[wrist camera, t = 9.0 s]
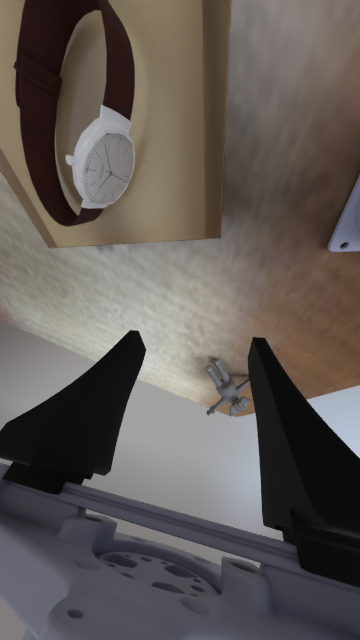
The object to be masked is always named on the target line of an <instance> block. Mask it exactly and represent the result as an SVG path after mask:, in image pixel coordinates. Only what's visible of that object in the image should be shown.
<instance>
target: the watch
mask: <svg viewBox="0 0 360 640" xmlns="http://www.w3.org/2000/svg"><path fill="white" fill-rule="evenodd" d="M95 10H98V11H101V15H102V20H103V26H104V31H105V41H106V52H107V57H106V86H105V92H104V98H103V105H101V110H100V117H99V118H97V119H95V120H94V121H93V122H92V123H91V124H90V125H89V126H88V127H87V128H86V129H85V130H84V131H83V132H82V134H81V136H80V138H79V140H78V142H77V145H76V147H75V151H74V156H70V155H66V157H65V158H66V162H67V164H68V165H71V166H72V171H73V180H74V184H75V186H76V188H77V190H78V192H79V194H80V195H81V197H82V198H83V201H82V204H81V211H80V214H79V215H77V214H76V213H75V212H74V211H73V209H72V208H71V207H70V205H69V203H68V201H67V199H66V197H65V195H64V192H63V190H62V187H61V183H60V180H59V176H58V172H57V165H56V159H55V129H56V114H57V103H58V99H59V95H60V89H61V84H62V78H61V77H60V72H61V69H62V65H63V61H64V57H65V53H66V49H67V45H68V43H69V40H70V38H71V36H72V33H73V31H74V28H75V26H76V24H77V23H78V22H79V21H80V20H81V19H82V18H83V17H84V15H86V14H88V13H91V12H93V11H95ZM13 67H14V68H15V70H16V79H15V97H16V104H17V106H18V107H19V108H20V131H21V138H22V145H23V150H24V156H25V161H26V165H27V168H28V171H29V175H30V178H31V181H32V184H33V186H34V188H35V191H36V193H37V195H38V198H39V200H40V201H41V203H42V205H43V206H44V208H45V210H46V211H47V212H48V214H49V215H50V216H51V217H52V219H53V220H54V221H56V222H57V223H58V224H60V225H62V226H65V227H69V226H75V225H79V224H84V223H87V222H91V221H94V220H95V219H96V218H98V217H99V216H100V214H101V213H102V211H103V209H104V208H105V207H107V205H109V204H112V203H114V202H115V201H116V200H117V199H118V198H119V197H120V196H121V195H122V193H123V192H124V191H125V189H126V188H127V186H128V184H129V182H130V179H131V177H132V174H133V171H134V165H135V151H134V143H133V140H132V139H131V138H130V136H129V130H130V128H131V126H132V124H133V123H132V122H131V121H130V119H131V114H132V109H133V102H134V94H135V65H134V58H133V52H132V47H131V43H130V40H129V37H128V35H127V32H126V30H125V27H124V25H123V23H122V22H121V20H120V18H119V17H118V15H117V14H116V12H115V11H114V9H113V8H112V6H111V4H110V3H109V1H108V0H25V3H24V7H23V11H22V18H21V25H20V32H19V38H18V45H17V56H16V62H15V63H14V66H13Z"/></svg>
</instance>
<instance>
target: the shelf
mask: <svg viewBox="0 0 360 640" xmlns="http://www.w3.org/2000/svg"><path fill="white" fill-rule="evenodd" d="M108 1H109V3H110V4H111V6H112V8H113V9H114V11H115V12H116V14H117V15H118V17H119V18H120V20H121V22H122V23H123V25H124V27H125V30H126V32H127V35H128V37H129V40H130V43H131V47H132V52H133V58H134V65H135V94H134V102H133V109H132V114H131V119H130V121H131V122H132V123H133V124H132V126H131V128H130V130H129V136H130V138H131V139H132V140H133V143H134V151H135V165H134V171H133V174H132V177H131V179H130V182H129V184H128V186H127V188H126V189H125V191H124V192H123V193H122V195H121V196H120V197H119V198H118V199H117V200H116V201H115V202H114V203H112V204H109V205H107V207H105V208H104V209H103V211H102V213H101V214H100V216H99V217H98V218H96V219H95V220H94V221H91V222H87V223H84V224H79V225H75V226H69V227H65V226H62V225H60V224H58V223H57V222H56V221H54V220H53V219H52V217H51V216H50V215H49V214H48V212H47V211H46V210H45V208H44V206H43V205H42V203H41V201H40V200H39V198H38V195H37V193H36V191H35V188H34V186H33V184H32V181H31V178H30V175H29V171H28V168H27V165H26V161H25V156H24V150H23V145H22V138H21V131H20V108H19V107H18V106H17V104H16V97H15V79H16V70H15V68H14V67H13V66H14V63H15V62H16V56H17V45H18V38H19V32H20V25H21V18H22V11H23V7H24V3H25V0H0V170H1V172H2V174H3V175H4V177H5V178H6V180H7V182H8V183H9V185H10V186H11V188H12V190H13V191H14V193H15V195H16V196H17V198H18V199H19V201H20V203H21V204H22V206H23V207H24V209H25V211H26V212H27V214H28V216H29V217H30V219H31V220H32V222H33V224H34V225H35V227H36V228H37V230H38V232H39V233H40V235H41V237H42V238H43V240H44V241H45V243H46V245H47V246H48V248H61V247H78V246H96V245H113V244H130V243H147V242H164V241H182V240H199V239H216V238H221V223H222V201H223V179H224V156H225V134H226V111H227V89H228V66H229V44H230V21H231V0H108ZM106 57H107V52H106V41H105V31H104V26H103V20H102V15H101V11H98V10H95V11H93V12H91V13H88V14H86V15H84V17H83V18H82V19H81V20H80V21H79V22H78V23H77V24H76V26H75V28H74V31H73V33H72V36H71V38H70V40H69V43H68V45H67V49H66V53H65V57H64V61H63V65H62V69H61V72H60V77H61V78H62V84H61V89H60V95H59V99H58V103H57V114H56V129H55V159H56V165H57V172H58V176H59V180H60V183H61V187H62V190H63V192H64V195H65V197H66V199H67V201H68V203H69V205H70V207H71V208H72V209H73V211H74V212H75V213H76V214H77V215H79V214H80V211H81V204H82V201H83V198H82V197H81V195H80V194H79V192H78V190H77V188H76V186H75V184H74V180H73V171H72V166H71V165H68V164H67V162H66V158H65V157H66V155H70V156H74V151H75V147H76V145H77V142H78V140H79V138H80V136H81V134H82V132H83V131H84V130H85V129H86V128H87V127H88V126H89V125H90V124H91V123H92V122H93V121H94V120H95V119H97V118H99V117H100V110H101V105H103V98H104V92H105V86H106Z"/></svg>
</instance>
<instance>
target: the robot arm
mask: <svg viewBox="0 0 360 640" xmlns="http://www.w3.org/2000/svg"><path fill="white" fill-rule="evenodd" d="M345 242H346V244H345V245H344V246H343V247H340V246H341V244H343V243H345ZM327 248H328V250H330V251H331V252H348V251H360V175H359V177H358V179H357V181H356V183H355V186H354V188H353V190H352V192H351V194H350V197H349V199H348V201H347V203H346V205H345V208H344V210H343V212H342V214H341V216H340V219H339V221H338V223H337V225H336V228H335V230H334V232H333V234H332V236H331V239H330V241H329V243H328V246H327ZM145 352H146V348H145V346H144V343H143V341H142V338H141V336H140V333H139V331H133V330H130V331H129V332H128V333H127V334H126V335H125V336H124V337H123V338H122V339H121V340H120V341H119V342H118V343H117V344H116V345H115V346H114V347H113V348H112V349H111V350H110V351H109V352H108V353H107V354H106V355H105V356H104V357H102V358H101V359H100V360H99V361H98V362H97V363H96V364H95V365H94V366H92V367H91V368H90V369H89V370H88V371H87V372H85V373H84V374H83V375H82V376H80V377H79V378H78V379H76V380H75V381H74V382H72V383H71V384H70V385H68V386H67V387H65V388H64V389H63V390H61V391H60V392H58V393H57V394H55V395H54V396H52V397H51V398H49V399H48V400H46V401H44V402H43V403H41V404H40V405H38V406H36V407H34V408H33V409H31V410H29V411H27V412H26V413H24V414H22V415H20V416H18V417H17V418H15V419H13V420H11V421H9V422H7V423H6V424H5V426H4V427H3V428H2V430H1V431H0V458H2V459H6V460H10V461H13V463H12V464H11V465H6V464H2V463H0V598H1V599H2V600H3V602H4V603H5V604H6V605H7V606H8V607H9V608H10V609H11V610H12V611H13V613H15V615H16V616H17V617H18V618H19V619H20V620H21V621H22V622H23V623H24V625H25V626H26V627H27V629H26V632H25V634H24V637H23V639H22V640H360V458H359V457H358V456H357V455H356V454H355V453H353V451H352V450H350V448H349V447H348V446H347V445H346V444H345V443H344V442H343V441H342V440H341V439H340V438H339V437H338V436H337V434H336V433H335V432H333V430H332V429H331V428H330V427H329V426H328V425H327V424H326V423H325V422H324V421H323V419H322V418H321V417H320V416H319V415H318V414H317V412H316V411H315V410H314V409H313V408H312V406H311V405H310V404H309V403H308V402H307V400H306V399H305V398H304V397H303V395H302V394H301V393H300V391H299V390H298V389H297V387H296V386H295V385H294V383H293V382H292V381H291V379H290V378H289V376H288V375H287V373H286V372H285V370H284V369H283V367H282V366H281V364H280V363H279V361H278V360H277V358H276V356H275V355H274V353H273V351H272V350H271V348H270V346H269V344H268V342H267V340H266V339H265V338H257V337H253V339H252V343H251V347H250V351H249V355H248V371H249V379H250V384H251V390H252V396H253V401H254V407H255V412H256V420H257V429H258V443H259V457H260V474H261V495H262V515H263V523H264V526H267V527H270V528H273V529H276V530H280V531H282V533H283V539H284V541H280V540H276V539H273V538H269V537H266V536H262V535H258V534H255V533H251V532H248V531H244V530H241V529H237V528H233V527H230V526H226V525H222V524H219V523H215V522H212V521H208V520H204V519H201V518H198V517H194V516H190V515H187V514H183V513H179V512H176V511H173V510H169V509H165V508H162V507H158V506H155V505H151V504H147V503H144V502H140V501H137V500H133V499H129V498H126V497H122V496H118V495H115V494H111V493H108V492H104V491H101V490H97V489H94V488H90V487H86V486H83V485H82V483H83V480H84V478H85V479H89V480H90V479H91V478H92V476H93V473H96V474H99V475H103V476H105V475H106V474H108V473H109V472H110V470H111V466H112V461H113V456H114V451H115V447H116V443H117V438H118V434H119V430H120V426H121V422H122V419H123V415H124V412H125V409H126V405H127V402H128V399H129V396H130V393H131V391H132V388H133V386H134V384H135V381H136V379H137V376H138V374H139V371H140V369H141V366H142V363H143V360H144V356H145ZM86 509H89V510H92V511H95V512H98V513H102V514H105V515H108V516H111V517H114V518H118V519H121V520H124V521H128V522H131V523H134V524H137V525H140V526H144V527H147V528H150V529H153V530H157V531H160V532H163V533H166V534H170V535H173V536H176V537H179V538H182V539H185V540H189V541H192V542H196V543H198V544H202V545H205V546H208V547H211V548H215V549H218V550H221V551H224V552H228V553H231V554H234V555H237V556H240V557H244V558H247V559H250V560H253V561H256V562H260V563H261V565H260V567H259V568H258V567H256V566H255V565H253V564H252V563H249V562H247V561H243V560H239V559H234V558H229V557H222V566H221V565H218V564H216V563H213V562H210V561H208V560H206V559H203V558H201V557H198V556H196V555H193V554H191V553H188V552H185V551H183V550H180V549H177V548H174V547H171V546H168V545H164V544H161V543H157V542H153V541H150V540H146V539H142V538H138V537H134V536H130V535H126V534H122V533H118V532H115V530H116V527H117V522H115V521H114V520H112V519H110V518H108V517H105V516H101V515H92V514H86Z"/></svg>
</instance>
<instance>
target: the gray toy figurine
mask: <svg viewBox="0 0 360 640" xmlns="http://www.w3.org/2000/svg"><path fill="white" fill-rule="evenodd" d="M213 363H214V364H215V366H216V367H217V369H218V371H219V373H220V374H221V376H222V378H223V379H220V378H219V377H218V376H217V374H216V373H215V371H214V370H213V368H212V366H211V365H208V366H206V368H205V369H206V370H207V372H208V373H209V375H210V376H211V377H212V379H213V381H214V383H215V385H216V389H217V391H218V393H219V394H220V395H222V398H221V399H220V400H219V401H218V402H217V403H216V404H215V405H214V406H212V407H211V408H210V409H209V410H208V411H207V415H210V414H211V413H214V411H215V409H216V408H217V407H219V406H222V405H224V404H226V403H228V402H231V403H232V405H231V407H230V408H229V409H230V416H234V415H235V414H236V413H237V412H238V411H239V412H242V411H244V410H245V406H247V404H249V402H250V399H247V398H246V397H242V398H240V400H239V398H238V395H239V394H240V392H241V391H242V390H243V389H244V388H245V387H246V386H247V384H249V383H250V379H249V378H248V379H247V380H246V381H245V382H244V383H242V384H240V385H239V386H238V387H236V385H235V383H234V381H233V380H232V379H231V378H230V377H229V376H228V374H227V373H226V371H225V369H224V368H223V366H222V364H221V362H220V360H219V359H215V360H214V361H213Z"/></svg>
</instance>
